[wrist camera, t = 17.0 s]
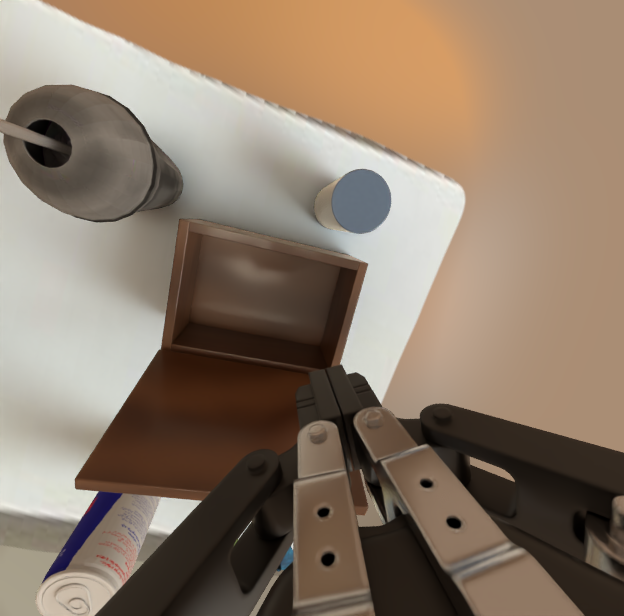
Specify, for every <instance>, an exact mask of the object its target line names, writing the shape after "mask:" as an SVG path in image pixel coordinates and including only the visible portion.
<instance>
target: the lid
mask: <svg viewBox="0 0 624 616" xmlns="http://www.w3.org/2000/svg"><path fill="white" fill-rule="evenodd" d="M308 384H311V383H310V379H309V375H308V374H303V373H297V372H291V371H285V370H279V369H273V368H267V367H261V366H255V365H249V364H243V363H237V362H231V361H225V360H220V359H214V358H208V357H202V356H196V355H190V354H184V353H178V352H172V351H166V350H159V351H158V352H157V354H156V355H155V357H154V358H153V360H152V361H151V363H150V364H149V366H148V367H147V369H146V371H145V372H144V374H143V375H142V377H141V378H140V380H139V381H138V383H137V384H136V386H135V387H134V389H133V390H132V392H131V394H130V395H129V397H128V398H127V400H126V401H125V403H124V404H123V406H122V407H121V409H120V410H119V412H118V414H117V415H116V417H115V418H114V420H113V421H112V423H111V424H110V426H109V427H108V429H107V430H106V432H105V433H104V435H103V437H102V438H101V440H100V441H99V443H98V444H97V446H96V447H95V449H94V450H93V452H92V453H91V455H90V457H89V458H88V460H87V461H86V463H85V464H84V466H83V467H82V469H81V470H80V472H79V473H78V475H77V476H76V478H75V488H76V489H80V490H91V491H102V492H113V493H124V494H135V495H145V496H156V497H167V498H178V499H189V500H200V501H203V500H204V498H205V497H206V496H207V495H208V494H209V493H210V492H211V491H212V490H213V489H214V488H215V487H216V486H217V485H218V484H219V482H220V481H221V480H222V479H223V478H224V477H225V476H226V475H227V474H228V473H229V472H230V471H231V470H232V469H233V468H234V467H235V465H236V464H237V463H238V462H239V461H240V460H241V459H242V458H243V457H244V456H246V455H247V454H249V453H251V452H253V451H256V450H259V449H270V450H273V451H275V452H276V453H277V455H280V454H282V453H284V452H286V451H287V450H289V449H290V448H292V447H293V446H294V445H295V444H296V443H297V441H298V433H299V432H300V426H299V419H298V412H297V405H296V399H295V393H296V391H297V389H298V387H300V386H304V385H308ZM350 459H351V458H350ZM351 464H352V461H351ZM352 469H353V471H352V472H349V473H350V478H351V492H352V497H353V501H354V506H355V511H356V515H365V513H366V511H367V509H368V503H367V499H366V495H365V491H364V487H363V482H362V479H361V474H360V470H354V467H353V464H352Z"/></svg>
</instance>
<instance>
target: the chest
mask: <svg viewBox="0 0 624 616" xmlns="http://www.w3.org/2000/svg"><path fill="white" fill-rule="evenodd" d="M367 266H368V264H367V263H365V262H363V261H361V260H359V259H356V258H354V257H352V256H350V255H346V254H342V253H338V252H333V251H329V250H325V249H321V248H317V247H313V246H308V245H304V244H300V243H296V242H292V241H288V240H284V239H279V238H275V237H271V236H267V235H263V234H259V233H254V232H250V231H246V230H242V229H238V228H234V227H229V226H225V225H221V224H217V223H213V222H209V221H204V220H200V219H179V225H178V232H177V239H176V246H175V254H174V261H173V268H172V275H171V282H170V289H169V296H168V303H167V310H166V317H165V324H164V331H163V339H162V346H161V350H166V351H172V352H178V353H184V354H190V355H196V356H202V357H208V358H214V359H220V360H225V361H231V362H237V363H243V364H249V365H255V366H261V367H267V368H273V369H279V370H285V371H291V372H297V373H303V374H308V373H309V372H313V371H317V370H321V369H324V370H325V368H329V367H333V366H337V365H340V362H341V359H342V355H343V352H344V348H345V344H346V341H347V337H348V334H349V330H350V327H351V323H352V320H353V316H354V313H355V309H356V305H357V302H358V298H359V295H360V291H361V288H362V284H363V281H364V277H365V273H366V270H367ZM325 372H326V370H325Z"/></svg>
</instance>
